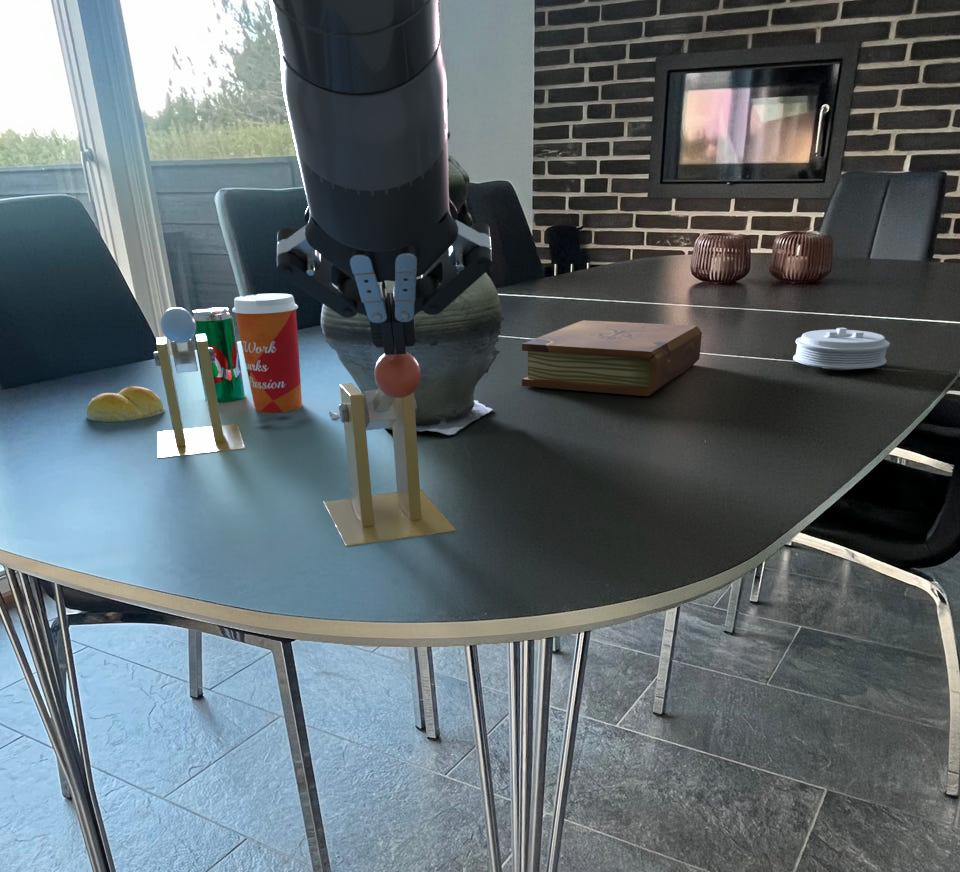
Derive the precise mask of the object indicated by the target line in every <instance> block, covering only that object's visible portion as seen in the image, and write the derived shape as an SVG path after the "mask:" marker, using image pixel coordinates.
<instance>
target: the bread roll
mask: <svg viewBox="0 0 960 872" xmlns="http://www.w3.org/2000/svg"><path fill="white" fill-rule="evenodd" d="M165 412H166V409H165V408H164V404H163V401H162V400H161V398H160V397H159V395H157V394H156V393H155V392H154V391H153V390H151V389H149V388H146V387H143V386H127V387H125V388H123V389H121V390H120V391H119V392H117V393H114V392H104V393H100V394H98V395H96V396H95V397H93V398H92V399H90V401H89V403H88V405H87V408H86V419H88V420H90V421H94V422H102V423H107V422H108V423H113V422H115V423H116V422H128V421H136V420H141V419H145V418H151V417H154V416H158V415H162V414H163V413H165Z"/></svg>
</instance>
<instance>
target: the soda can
mask: <svg viewBox="0 0 960 872" xmlns="http://www.w3.org/2000/svg"><path fill="white" fill-rule="evenodd" d="M229 311H230V309H229V308H228V307H221V306H219V307H216V306H215V307H203V308H197V309H194V310H192V313H193V315H192V316H193V318H194V320H195V323H196V332H195V335H194V336H193V338H194V343H195V348H196V349H195V350H196V355H197V359H198V365H199V372H200V376H201V383H202V388H203V394H204V399H205V401H206V402H207V397H206V391H205V386H204V380H203V374H202V368H201V363H200V357H199V351H198V345H197V340H196V335H199V334H205V335H206V338H207V342H208V348H213V350H214V356H215V362H211V366H212V372H213V378H214V384H215V390H216V395H217V401H218V404H221V403H222V404H223V403H232V402H238V401H241V400H244V399H245V398H246V393H245V384H244V378H243V372H242V366H241V359H240V353H239V348H238V347H239V346H238V341H237V333H236V327H235V321H234V317H233V315H232V314H231V313H230V312H229Z"/></svg>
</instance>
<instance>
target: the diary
mask: <svg viewBox="0 0 960 872" xmlns="http://www.w3.org/2000/svg"><path fill="white" fill-rule="evenodd" d="M702 337H703V332H702V330H701V329H700V328H699V326H698V325H688V324H668V323H666V324H665V323H648V322H647V323H646V322H627V321H626V322H625V321H607V320H606V321H605V320H586V319H585V320H584V319H582V320H580V321H578V322H575V323H572V324H570V325H567V326H564V327H561V328H559V329H556V330H554V331H551V332H549V333H546V334H543V335H541V336H539V337H536V338H533V339H530V340H528V341H526V342H523V343H521V352H527V376H526V377H522V379H521V386H522V387H532V388H541V389H543V388H544V389H555V390H568V391H578V392H593V393H605V394H613V395H614V394H615V395H627V396H637V397H639V396H640V397H650V396H651V395H653V394H654V393H656V392H657V391H658V390H660V389H661V388H662V387H664V386H665V385H667V384H668V383H670V382H672V380H674V379H675V378H677V377H679V376H680V375H681V374H683V373H684V372H685V371H687V370H688V369H689V368H691V367H692V366H694V365H695V364H696V363H697V362H698V361H699V360H700V357H701V347H702V346H701V345H702Z"/></svg>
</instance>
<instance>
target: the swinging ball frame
mask: <svg viewBox="0 0 960 872" xmlns="http://www.w3.org/2000/svg"><path fill="white" fill-rule="evenodd" d="M339 390H340V399H341V400H340V401H341V403H340V404H339V405H338V413H339V415H340V416H339V419H340V422H341V423H342V424H343V432H344V441H345V449H346V451H345V452H346V460H347V469H348V480H349V490H350V497H349V498H348V497H347V498H341V499H339V498H338V499H332V500H326V501H325V500H324V501H323V505H324V506H325V509H326V512H327V513H328V515H329V517H330V519H331V521H332V523H333V525H334V527H335V529H336V530H337V533H338V535H339V536H340V539H341V541H342V542H343V544H344V546H345V547H347V548H348V547H353V546H361V545H366V544H374V543H382V542H388V541H395V540H400V539H401V540H402V539H409V538H416V537H422V536H430V535H436V534H437V535H438V534H445V533H452V532H457V529H456V528H455V527H454V526H453V525H452V523H451V522H450V520H448V519H447V518H446V516H445V515H444V514H443V513H442V511H440V509H439V508H438V507H437V506H436V504H435V503H434V502H433V501H432V500H431V498H430V497H429V496H428V495H427V494H426V492H425V491H424V490H423V489H422V488H421V487H420V486H421V485H420V484H421V483H420V469H419V452H418V436H417V435H418V434H417V433H418V432H417V431H416V416H415V415H416V413H417V405H416V400H415V398H414V392H413V393H412V394H410V395H409V396H407V397H404V398H395V400H394V404H395V410H396V416H397V419H396V421H395V422H394V424H393V426H392V429H391V430H392V441H393V453H394V455H393V456H394V467H395V482H396V491H395V492H387V493H380V494H379V493H378V494H372V484H371V483H372V482H371V472H370V459H369V449H368V448H369V447H368V439H367V438H368V437H367V430H366V426H365V414H364V403H363V395H362V394H361V391H360V389H359V388H357V387H356V386H355V385H354V383H353V382H350V383H340V384H339Z"/></svg>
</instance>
